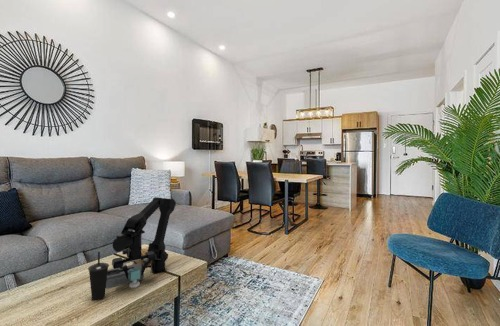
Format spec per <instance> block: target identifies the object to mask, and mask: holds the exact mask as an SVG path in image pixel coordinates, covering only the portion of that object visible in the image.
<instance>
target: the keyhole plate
mask: <svg viewBox="0 0 500 326" xmlns="http://www.w3.org/2000/svg"><path fill="white" fill-rule="evenodd" d="M137 267H138V268H139V269H140V279H137V281H139V282H140V281H142V280H144V279H145V278H144V276H145V275H144V273H145V272H144V273H143V275H142V276H141V267H142V266H141V265H140V263H138V264H137V263H133V264H129V265H127V269H128V279H127V278H126V275H125V273H124V270H123V269H120V268H116V269H114V268H111V269H108V272H107V281H106V290H107V289H111V288H115V287H118V286H122V285H126V284H130V283H131V282H133V280H132V281H131V280H130V278H129V269H132V268H137Z"/></svg>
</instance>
